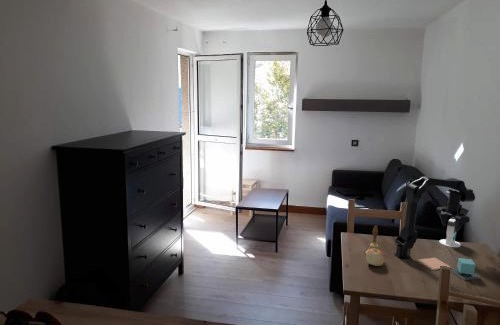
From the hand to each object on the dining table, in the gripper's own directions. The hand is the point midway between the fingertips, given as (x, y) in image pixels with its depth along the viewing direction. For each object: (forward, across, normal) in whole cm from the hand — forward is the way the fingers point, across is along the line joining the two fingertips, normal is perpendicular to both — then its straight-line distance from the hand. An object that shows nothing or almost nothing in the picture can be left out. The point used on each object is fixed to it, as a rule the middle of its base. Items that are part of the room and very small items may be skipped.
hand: (450, 229), depth 210 cm
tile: (+14, -11, +17) cm, 25 cm away
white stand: (+14, +12, -12) cm, 23 cm away
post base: (+14, -24, +10) cm, 29 cm away
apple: (+15, -6, +48) cm, 51 cm away
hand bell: (+15, +6, +42) cm, 45 cm away
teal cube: (+12, -24, +10) cm, 28 cm away
